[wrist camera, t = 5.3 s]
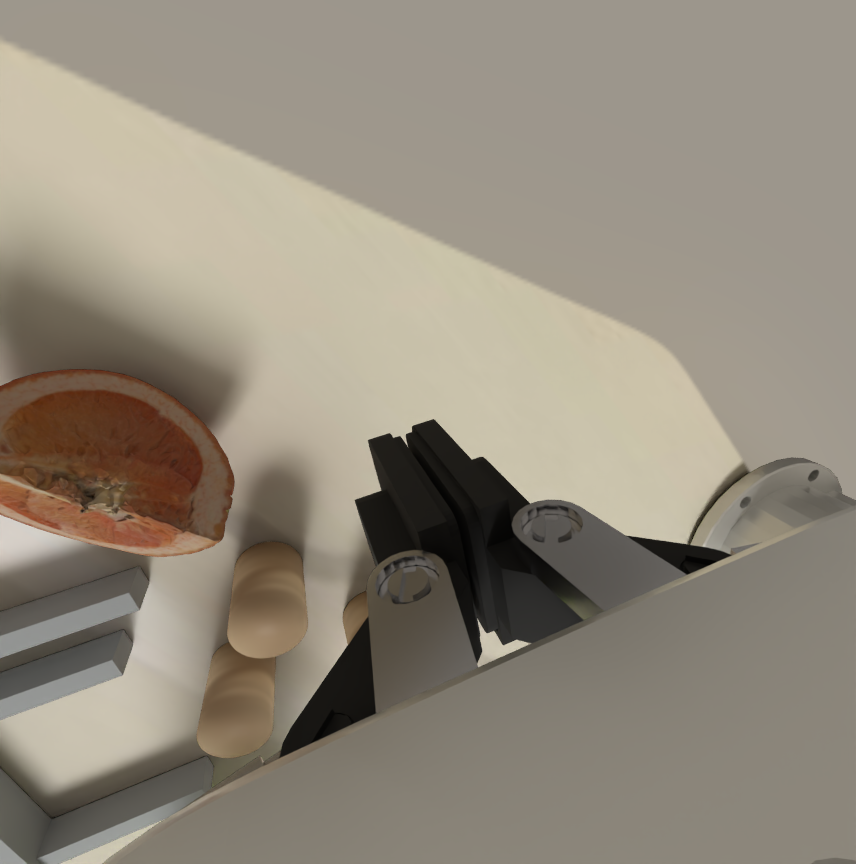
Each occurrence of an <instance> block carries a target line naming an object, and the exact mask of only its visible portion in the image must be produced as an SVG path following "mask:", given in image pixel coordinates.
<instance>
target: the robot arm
mask: <svg viewBox="0 0 856 864" xmlns="http://www.w3.org/2000/svg"><path fill="white" fill-rule="evenodd" d="M406 440H407V444H408V447H407V445H406V444H405V442H404V441H403V439H402V438H401V437H400V436H399V437H395V438H393V437H392V435H391V434H390V433H389V434H386V435H382V436H379V437H376V438H373V439H370V440H368V443H369V447H370V451H371V454H372V458H373V462H374V465H375V469H376V472H377V476H378V480H379V483H380V487H381V490H382V491H380V492H377V493H374V494H371V495H368V496H365V497H362V498H359V499H356V500H355V503H356V506H357V510H358V513H359V516H360V519H361V522H362V526H363V529H364V532H365V535H366V538H367V541H368V544H369V547H370V550H371V553H372V556H373V559H374V562H375V565H376V568H375V569H374V570H373V571H372V573H371V575H370V577H369V579H368V581H367V589H366V591H367V604H368V617H367V618H366V620H365V621H364V623H363V624H362V626H361V627H360V628H359V630H358V631H357V633H356V634H355V636H354V637H353V639H352V640H351V642H350V643H349V644H348V646H347V647H346V649H345V650H344V652H343V653H342V655H341V656H340V657H339V659H338V660H337V662H336V663H335V665H334V666H333V668H332V669H331V671H330V672H329V673H328V675H327V676H326V678H325V679H324V681H323V682H322V684H321V685H320V686H319V688H318V689H317V691H316V692H315V694H314V695H313V697H312V698H311V700H310V701H309V702H308V704H307V705H306V707H305V708H304V710H303V711H302V713H301V714H300V715H299V717H298V718H297V720H296V721H295V723H294V724H293V726H292V727H291V729H290V731H289V733H288V735H287V736H286V738H285V740H284V742H283V745H282V749H281V751H279V752H278V753H276V754H275V755H273V756H272V757H270V758H269V759H268V760H266V761H265V762H264V761H263V759H262V757H261V756H258V757H257V758H255V759H254V760H253V761H251V762H250V763H248V764H247V765H245V766H244V767H242V768H241V769H239V770H238V771H236V772H235V773H233V774H232V775H230V776H229V777H228V778H226V779H225V780H223V781H222V782H220V783H219V784H217V785H216V786H214V787H213V788H211V789H210V790H208V791H207V792H205V793H204V794H203V795H201V796H200V797H198V798H197V799H195V800H194V801H192V802H191V803H189V804H188V805H186V806H185V807H183V808H182V809H180V810H179V811H178V812H176V813H175V814H173V815H171V816H170V817H168V818H166V819H165V820H163V821H161V822H159V823H158V824H157V825H155V826H154V827H152V828H151V829H149V830H148V831H147V832H145V833H144V834H142V835H141V836H139V837H138V838H137V839H135V840H134V841H132V842H131V843H129V844H128V845H127V846H125V847H124V848H122V849H121V850H120V851H118V852H117V853H115V854H114V855H112V856H111V857H110V858H108V859H107V860H106V861H105V862H104V863H102V864H856V500H854V499H852V498H850V497H847V496H845V495H843V494H842V489H841V486H840V484H839V481H838V479H837V477H836V476H835V475H834V474H833V473H832V471H831V470H829V469H828V468H826V467H824V466H822V465H820V464H817V463H815V462H812V461H810V460H807V459H804V458H787V459H781V460H776V461H774V462H771V463H769V464H766V465H763V466H761V467H759V468H757V469H756V470H754V471H752V472H750V473H748V474H747V475H745V476H744V477H743V478H741V479H740V480H739V481H737V482H736V483H735V484H733V485H732V486H731V487H730V488H729V489H728V490H727V491H726V492H725V493H724V494H723V495H722V496H721V497H720V498H719V499H718V500H717V501H716V503H715V504H714V505H713V506H712V507H711V509H710V510H709V511H708V512H707V514H706V515H705V517H704V519H703V520H702V522H701V524H700V525H699V527H698V528H697V531H696V533H695V535H694V537H693V539H692V542H691V544H690V545H687V544H680V543H673V542H666V541H659V540H652V539H646V538H639V537H632V536H625V535H624V534H622V533H621V532H619V531H618V530H616V529H614V528H613V527H611V526H610V525H608V524H607V523H605V522H603V521H602V520H600V519H599V518H597V517H596V516H594V515H592V514H591V513H589V512H588V511H586V510H585V509H583V508H581V507H580V506H577V505H575V504H573V503H571V502H566V501H562V500H543V501H537V502H534V503H531V504H530V503H529V502H528V501H527V500H526V499H525V498H524V497H523V496H522V495H521V494H520V493H519V492H518V491H517V490H516V489H515V488H514V487H513V486H512V485H511V484H510V483H509V482H508V481H507V480H506V479H505V478H504V477H503V476H502V475H501V474H500V473H499V472H498V471H497V470H496V469H495V468H494V467H493V466H492V465H491V464H490V463H489V462H488V461H487V460H486V459H485V458H484V457H479V458H476V459H473V460H471V458H470V457H469V456H468V455H467V454H466V453H465V452H464V451H463V450H462V449H461V448H460V447H459V446H458V444H457V443H456V442H455V441H454V440H453V439H452V438H451V437H450V436H449V435H448V434H447V433H446V431H445V430H444V429H443V428H442V427H441V426H440V425H439V424H438V423H437V422H436V421H435V420H434V419H433V420H430V421H426V422H423V423H420V424H417V425H414V426H412V432H411V433H408V434H406ZM477 618H478V620H479V622H480V623H481V625H482V627H483V629H484V630H485V632H486V633H489V632H492V631H495V633H496V634H497V636H498V638H499V639H500V641H501V643H502V644H503V645H505V644H507V643H510V642H512V641H514V640H516V639H517V640H520V641H524V642H528V645H527V646H525V647H523V648H521V649H518V650H516V651H514V652H512V653H509V654H507V655H505V656H503V657H500V658H498V659H496V660H494V661H492V662H489V663H487V664H485V665H483V666H480V667H478V666H477V663H478V660H479V658H480V656H481V653H482V647H481V642H480V631H479V626H478V621H477Z"/></svg>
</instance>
